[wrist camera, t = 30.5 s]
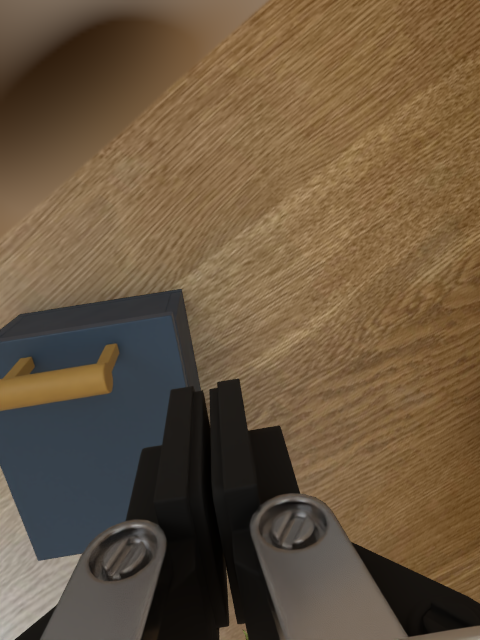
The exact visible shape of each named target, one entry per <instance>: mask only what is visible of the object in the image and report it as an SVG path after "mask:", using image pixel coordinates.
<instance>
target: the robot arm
mask: <svg viewBox="0 0 480 640" xmlns="http://www.w3.org/2000/svg"><path fill="white" fill-rule="evenodd" d="M217 385H218V388H215V389H210V424H209V419H208V413H207V408H206V403H205V397H204V393H203V390H202V391H196V392H195V389H194V386H190V387H184V388H178V389H172V390H171V391H170V397H169V403H168V410H167V416H166V423H165V429H164V436H163V442H162V445H159V446H153V447H147V448H143V449H142V451H141V455H140V459H139V463H138V468H137V472H136V477H135V481H134V486H133V490H132V495H131V499H130V503H129V508H128V512H127V517H126V521H125V522H121V523H119V524H116V525H114V526H111V527H110V528H108V529H106V530H105V531H103V532H102V533H100V534H99V535H98V536H97V537H95V538H94V539H93V540H92V541H91V542H90V543H89V545H88V546H87V548H86V549H85V551H84V552H83V554H82V555H81V557H80V559H79V562H78V564H77V566H76V568H75V570H74V572H73V574H72V576H71V578H70V580H69V582H68V584H67V586H66V588H65V590H64V592H63V594H62V596H61V598H60V600H59V602H58V604H57V605H56V606H55V607H54V608H53V609H51V610H50V611H49V612H48V613H46V614H45V615H44V616H43V617H42V618H40V619H39V620H38V621H37V622H36V623H34V624H33V625H32V626H31V627H29V628H28V629H27V630H26V631H25V632H23V633H22V634H21V635H20V636H19V637H17V638H16V639H15V640H219V628H221V627H227V626H229V610H228V592H227V574H228V579H229V584H230V589H231V594H232V599H233V604H234V609H235V614H236V619H237V624H244V623H246V628H247V634H248V639H249V640H480V604H479V603H478V602H476V601H474V600H473V599H471V598H469V597H468V596H466V595H463V594H461V593H459V592H457V591H455V590H453V589H451V588H448V587H446V586H444V585H442V584H440V583H438V582H436V581H433V580H431V579H429V578H427V577H425V576H423V575H421V574H419V573H416V572H414V571H412V570H410V569H408V568H406V567H404V566H401V565H399V564H397V563H395V562H393V561H391V560H389V559H386V558H384V557H382V556H380V555H378V554H376V553H374V552H372V551H369V550H367V549H365V548H363V547H361V546H359V545H357V544H354V543H352V542H351V541H350V540H349V538H348V536H347V535H346V533H345V531H344V530H343V528H342V526H341V525H340V523H339V521H338V520H337V518H336V516H335V515H334V513H333V512H332V510H331V509H330V508H329V507H328V506H327V505H326V503H324V502H322V501H321V500H319V499H317V498H316V497H313V496H309V495H306V494H300V491H299V488H298V485H297V481H296V478H295V474H294V471H293V468H292V464H291V461H290V458H289V454H288V451H287V447H286V444H285V441H284V437H283V434H282V430H281V427H280V426H274V427H268V428H262V429H256V430H250V431H248V429H247V423H246V417H245V411H244V404H243V398H242V392H241V386H240V380H239V379H233V380H227V381H221V382H217ZM226 568H227V573H226Z"/></svg>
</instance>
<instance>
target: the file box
mask: <svg viewBox="0 0 480 640" xmlns="http://www.w3.org/2000/svg"><path fill="white" fill-rule="evenodd" d="M170 311H172V312H173V316H174V321H175V326H176V331H177V336H178V341H179V346H180V350H181V355H182V360H183V365H184V370H185V375H186V380H187V385H188V387H190V386H194V389H195V392H196V391H201V388H200V383H199V378H198V372H197V367H196V362H195V357H194V351H193V346H192V341H191V335H190V330H189V325H188V320H187V314H186V309H185V304H184V298H183V293H182V289H178V290H172V291H165V292H159V293H153V294H146V295H140V296H133V297H127V298H121V299H114V300H108V301H102V302H95V303H89V304H82V305H76V306H70V307H63V308H57V309H51V310H44V311H38V312H31V313H25V314H20V315H18V316H17V317H16V318H15V319H13V320H12V321H11V322H9V323H8V324H7V325H6V326H4V327H3V328H2V329H0V338H6V337H12V336H18V335H25V334H31V333H37V332H44V331H50V330H56V329H63V328H69V327H75V326H82V325H88V324H94V323H101V322H107V321H113V320H120V319H126V318H132V317H139V316H145V315H151V314H158V313H164V312H170Z"/></svg>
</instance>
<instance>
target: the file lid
mask: <svg viewBox="0 0 480 640" xmlns="http://www.w3.org/2000/svg"><path fill="white" fill-rule="evenodd" d="M184 387H188V385H187V380H186V375H185V370H184V365H183V360H182V355H181V350H180V346H179V341H178V336H177V331H176V326H175V321H174V316H173V312H172V311H170V312H164V313H158V314H151V315H145V316H139V317H132V318H126V319H120V320H113V321H107V322H101V323H94V324H88V325H82V326H75V327H69V328H63V329H56V330H50V331H44V332H37V333H31V334H25V335H18V336H12V337H6V338H0V466H1V468H2V471H3V473H4V476H5V478H6V481H7V483H8V486H9V489H10V491H11V494H12V496H13V499H14V501H15V504H16V506H17V509H18V511H19V514H20V516H21V519H22V521H23V524H24V526H25V529H26V531H27V534H28V536H29V539H30V541H31V544H32V546H33V549H34V551H35V554H36V556H37V559H38V561H41V560H46V559H52V558H58V557H64V556H70V555H76V554H82V553H83V552H84V551H85V549H86V548H87V546H88V545H89V543H90V542H91V541H92V540H93V539H94V538H95V537H97V536H98V535H99V534H100V533H102V532H103V531H105V530H106V529H108V528H110V527H111V526H114V525H116V524H119V523H121V522H125V521H126V517H127V512H128V508H129V503H130V499H131V495H132V490H133V486H134V481H135V477H136V472H137V468H138V463H139V459H140V455H141V451H142V449H143V448H147V447H153V446H159V445H162V442H163V436H164V429H165V423H166V416H167V410H168V403H169V397H170V391H171V390H172V389H178V388H184Z"/></svg>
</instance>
